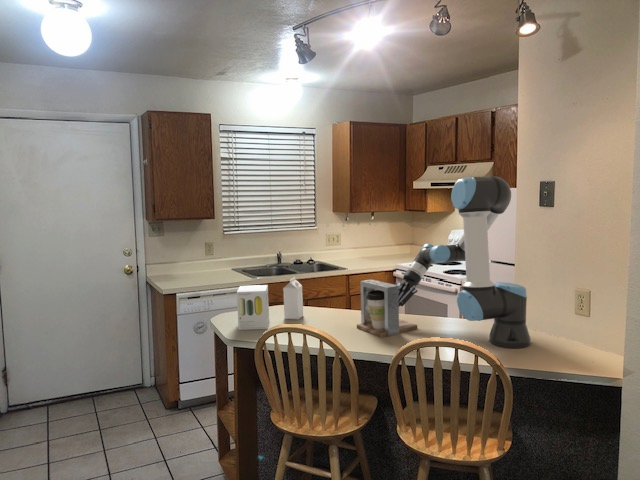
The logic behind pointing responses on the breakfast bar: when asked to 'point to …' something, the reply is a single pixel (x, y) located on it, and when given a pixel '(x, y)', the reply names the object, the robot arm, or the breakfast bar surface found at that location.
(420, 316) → the breakfast bar surface
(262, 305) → the supplement box
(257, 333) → the breakfast bar surface
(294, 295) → the milk carton
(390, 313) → the grey keeper bridge
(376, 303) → the coffee cup
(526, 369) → the breakfast bar surface
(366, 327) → the walnut board
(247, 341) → the breakfast bar surface
